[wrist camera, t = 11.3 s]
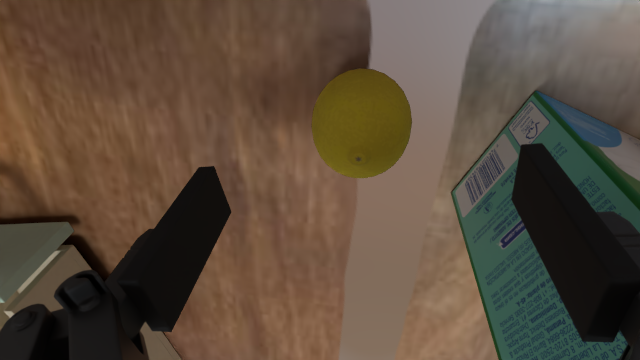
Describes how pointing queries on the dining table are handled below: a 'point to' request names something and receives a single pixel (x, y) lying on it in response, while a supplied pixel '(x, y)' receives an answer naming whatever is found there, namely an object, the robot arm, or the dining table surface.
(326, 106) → the lemon
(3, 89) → the dining table surface
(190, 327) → the dining table surface
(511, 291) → the milk carton
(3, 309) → the drawer
